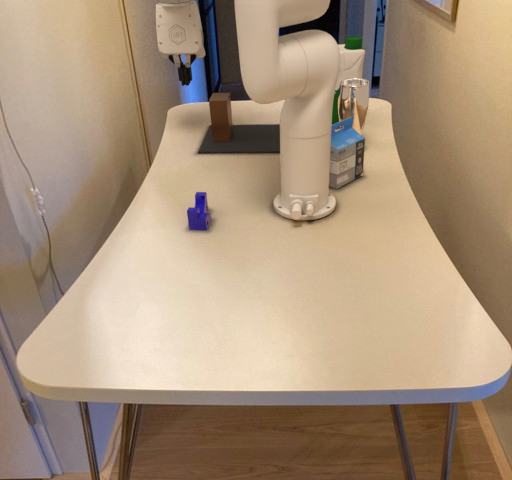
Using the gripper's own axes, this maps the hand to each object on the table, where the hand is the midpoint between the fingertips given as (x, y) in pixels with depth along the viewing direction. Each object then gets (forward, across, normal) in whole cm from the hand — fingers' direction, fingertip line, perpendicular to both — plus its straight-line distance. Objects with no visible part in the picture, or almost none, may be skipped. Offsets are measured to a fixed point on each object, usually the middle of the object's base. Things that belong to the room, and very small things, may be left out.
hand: (186, 83), depth 133 cm
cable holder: (+14, +10, -42) cm, 45 cm away
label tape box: (+13, +38, -24) cm, 47 cm away
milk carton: (+14, +38, +11) cm, 42 cm away
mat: (+13, +14, 0) cm, 19 cm away
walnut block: (+13, +8, 0) cm, 15 cm away
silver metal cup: (+14, +40, -6) cm, 43 cm away
